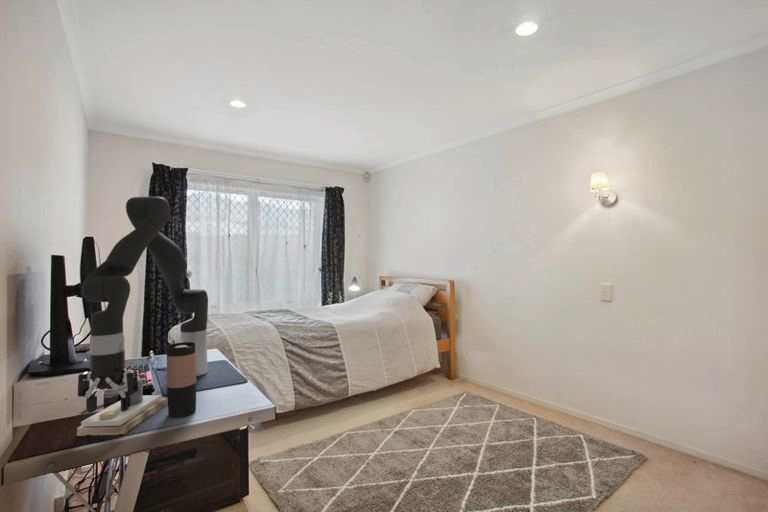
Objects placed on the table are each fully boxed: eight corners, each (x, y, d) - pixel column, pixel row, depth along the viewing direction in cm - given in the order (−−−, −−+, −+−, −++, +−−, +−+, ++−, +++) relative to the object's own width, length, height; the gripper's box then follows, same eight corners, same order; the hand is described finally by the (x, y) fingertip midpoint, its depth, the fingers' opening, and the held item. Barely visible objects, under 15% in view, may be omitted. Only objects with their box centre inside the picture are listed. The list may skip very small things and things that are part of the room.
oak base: (127, 405, 118) (127, 398, 118) (166, 404, 118) (166, 397, 118) (77, 435, 98) (77, 428, 98) (124, 434, 98) (124, 426, 98)
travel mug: (169, 410, 113) (168, 343, 113) (198, 406, 116) (196, 341, 116) (165, 420, 106) (163, 349, 106) (195, 415, 109) (194, 346, 109)
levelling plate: (128, 399, 117) (128, 373, 117) (161, 398, 117) (161, 372, 117) (81, 426, 98) (80, 395, 98) (120, 425, 98) (120, 394, 98)
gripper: (143, 346, 105) (144, 404, 105) (90, 347, 105) (92, 406, 105) (125, 353, 97) (126, 416, 97) (69, 354, 97) (70, 417, 97)
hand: (108, 410), depth 101 cm, fingers open, 8 cm apart
